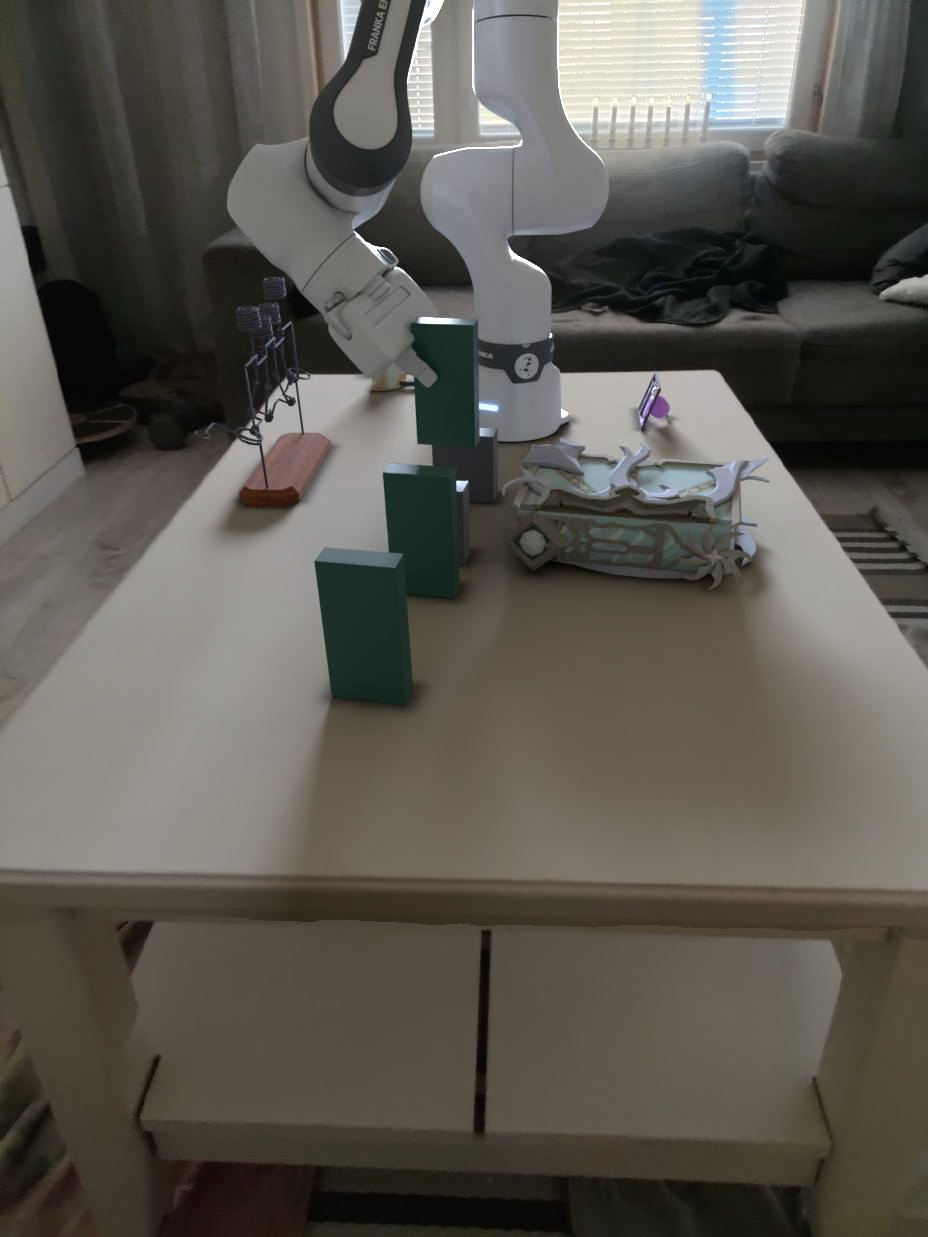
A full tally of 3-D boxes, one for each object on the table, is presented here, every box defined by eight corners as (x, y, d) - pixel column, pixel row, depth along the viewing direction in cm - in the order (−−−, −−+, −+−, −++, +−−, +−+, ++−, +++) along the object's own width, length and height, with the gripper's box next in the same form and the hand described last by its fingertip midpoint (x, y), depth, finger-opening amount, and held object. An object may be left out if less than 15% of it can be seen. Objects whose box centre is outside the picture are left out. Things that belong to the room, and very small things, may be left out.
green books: (398, 581, 98) (389, 462, 91) (459, 586, 97) (456, 466, 89) (331, 696, 80) (313, 560, 73) (405, 705, 79) (395, 568, 72)
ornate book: (492, 582, 99) (772, 601, 92) (488, 503, 94) (784, 517, 87) (527, 500, 118) (763, 510, 111) (526, 430, 113) (773, 436, 106)
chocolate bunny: (416, 387, 158) (413, 329, 152) (373, 392, 156) (368, 334, 150) (408, 378, 162) (404, 322, 157) (366, 383, 160) (361, 327, 155)
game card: (650, 369, 141) (654, 386, 133) (681, 380, 141) (686, 398, 134) (633, 407, 144) (636, 427, 137) (663, 418, 145) (667, 438, 137)
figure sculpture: (283, 434, 139) (259, 265, 126) (337, 434, 138) (319, 265, 125) (211, 535, 109) (170, 328, 96) (279, 536, 108) (248, 328, 95)
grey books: (439, 489, 119) (436, 425, 115) (497, 493, 118) (497, 428, 113) (397, 558, 103) (392, 486, 98) (464, 564, 101) (462, 491, 96)
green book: (422, 436, 107) (416, 316, 99) (479, 439, 105) (477, 318, 98) (417, 444, 104) (410, 322, 97) (475, 447, 103) (472, 325, 95)
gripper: (334, 284, 87) (434, 386, 91) (393, 246, 104) (476, 333, 107) (297, 329, 91) (395, 426, 94) (360, 284, 107) (442, 368, 111)
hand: (439, 376), depth 101 cm, fingers closed on green book, 2 cm apart
